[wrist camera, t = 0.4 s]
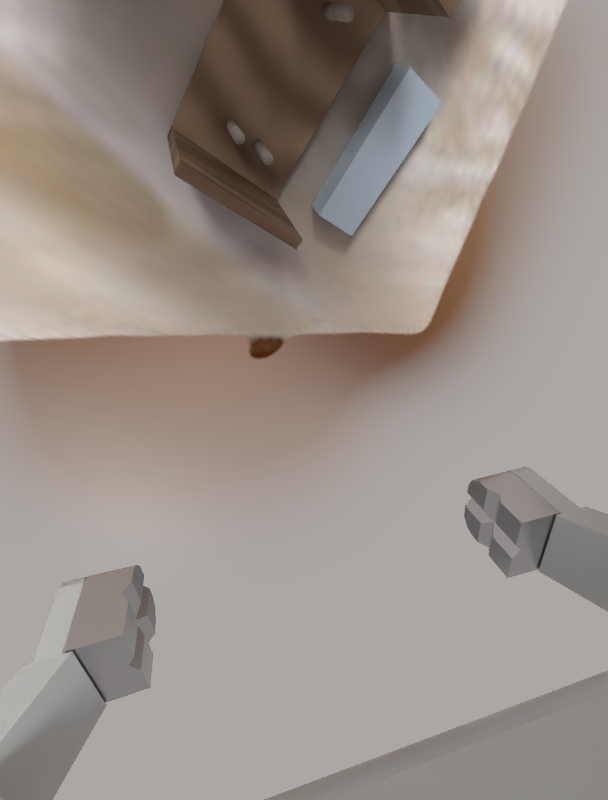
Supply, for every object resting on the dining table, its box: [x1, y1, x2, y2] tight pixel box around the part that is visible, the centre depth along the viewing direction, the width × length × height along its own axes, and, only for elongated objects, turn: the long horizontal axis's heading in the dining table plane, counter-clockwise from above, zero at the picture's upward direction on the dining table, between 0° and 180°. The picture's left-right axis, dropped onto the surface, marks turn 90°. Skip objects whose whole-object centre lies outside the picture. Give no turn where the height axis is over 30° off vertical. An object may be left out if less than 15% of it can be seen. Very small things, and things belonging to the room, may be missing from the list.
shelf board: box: [311, 63, 442, 236], centre depth 51 cm, size 18×6×4 cm, turn 146°
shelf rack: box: [167, 0, 461, 249], centre depth 38 cm, size 24×14×14 cm, turn 143°
